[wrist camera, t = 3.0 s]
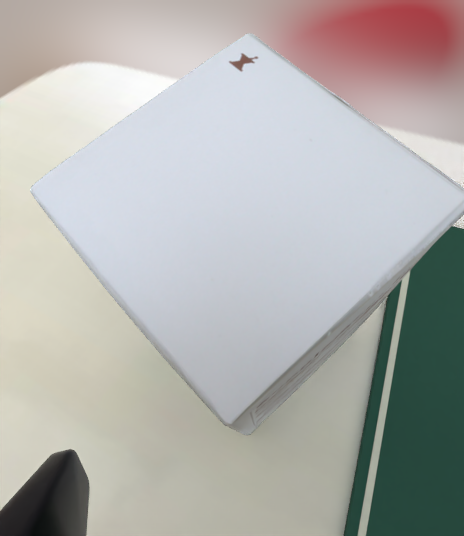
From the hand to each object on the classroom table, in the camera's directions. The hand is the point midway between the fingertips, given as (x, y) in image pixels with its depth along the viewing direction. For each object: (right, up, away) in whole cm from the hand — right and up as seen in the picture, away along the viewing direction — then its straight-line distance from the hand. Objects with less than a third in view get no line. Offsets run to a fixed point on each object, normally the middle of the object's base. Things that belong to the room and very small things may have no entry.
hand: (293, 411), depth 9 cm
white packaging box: (0, 0, +12) cm, 12 cm away
